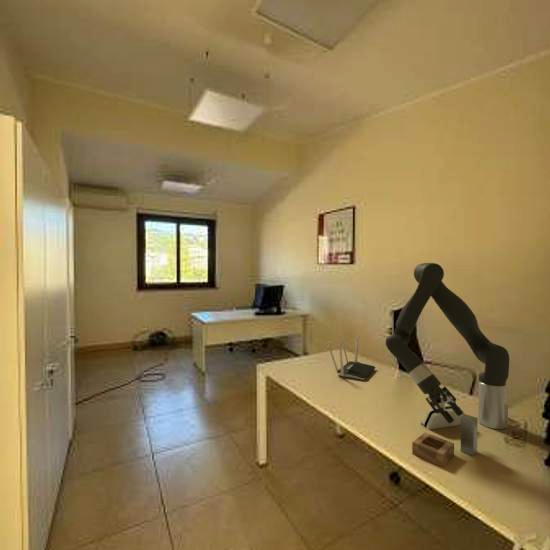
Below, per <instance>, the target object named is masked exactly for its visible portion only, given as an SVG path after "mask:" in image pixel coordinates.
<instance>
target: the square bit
mask: <svg viewBox="0 0 550 550" xmlns="http://www.w3.org/2000/svg"><path fill="white" fill-rule="evenodd" d="M460 452H461V453H464V454H466V455H469V456H472V457H474V456H476V454H477V453H478V417H476V416H473V415H470V414H466V413H465V414H464V415H463V416H462V417H461V425H460Z"/></svg>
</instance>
